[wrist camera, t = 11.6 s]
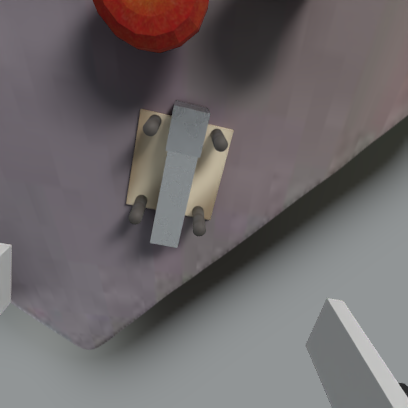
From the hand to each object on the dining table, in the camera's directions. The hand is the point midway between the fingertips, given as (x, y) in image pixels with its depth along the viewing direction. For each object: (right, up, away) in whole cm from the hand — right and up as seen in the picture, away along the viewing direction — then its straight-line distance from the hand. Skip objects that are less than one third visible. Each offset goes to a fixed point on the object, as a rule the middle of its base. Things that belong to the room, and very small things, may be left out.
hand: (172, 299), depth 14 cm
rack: (-2, +9, +31) cm, 32 cm away
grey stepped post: (-2, +8, +30) cm, 31 cm away
